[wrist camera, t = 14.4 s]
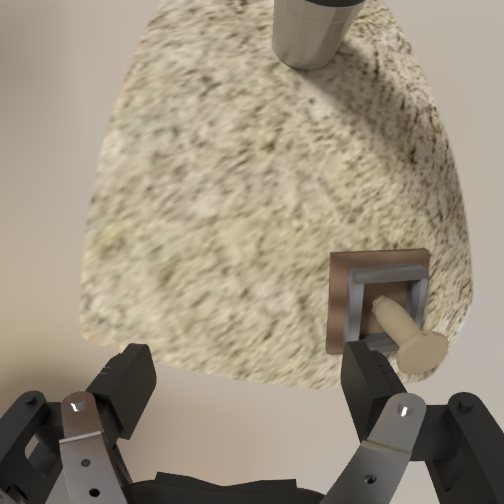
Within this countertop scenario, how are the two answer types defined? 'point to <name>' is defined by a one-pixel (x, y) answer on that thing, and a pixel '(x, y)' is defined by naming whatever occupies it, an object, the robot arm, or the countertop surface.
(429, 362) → the handle
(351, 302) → the socket block
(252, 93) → the countertop surface
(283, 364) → the countertop surface
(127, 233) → the countertop surface
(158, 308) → the countertop surface
